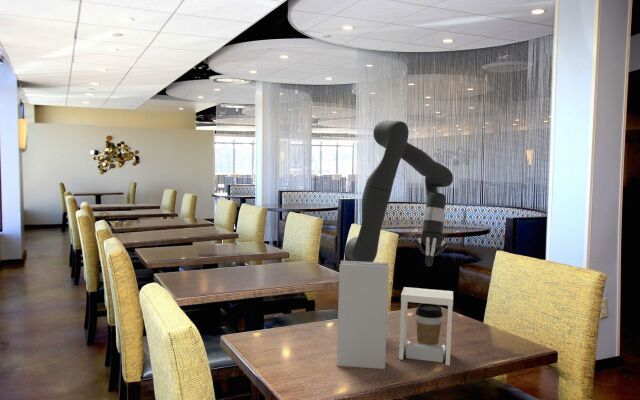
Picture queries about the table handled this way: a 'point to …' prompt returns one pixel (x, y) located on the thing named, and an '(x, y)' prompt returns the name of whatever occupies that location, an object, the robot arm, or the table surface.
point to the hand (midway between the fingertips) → (428, 265)
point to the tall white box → (362, 314)
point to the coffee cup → (428, 324)
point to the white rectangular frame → (410, 349)
